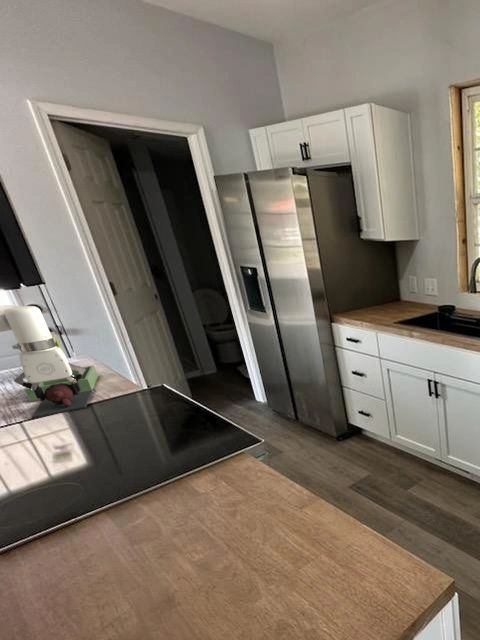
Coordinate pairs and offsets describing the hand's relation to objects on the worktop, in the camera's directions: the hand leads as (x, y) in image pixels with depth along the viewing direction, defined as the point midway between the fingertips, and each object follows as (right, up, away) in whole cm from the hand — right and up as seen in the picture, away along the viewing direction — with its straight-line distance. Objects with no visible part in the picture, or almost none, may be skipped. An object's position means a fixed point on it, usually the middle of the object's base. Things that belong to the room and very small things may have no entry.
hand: (60, 396), depth 137 cm
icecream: (0, -2, +1) cm, 2 cm away
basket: (-15, +3, +15) cm, 21 cm away
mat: (0, -3, +1) cm, 3 cm away
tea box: (-41, +9, +34) cm, 54 cm away
